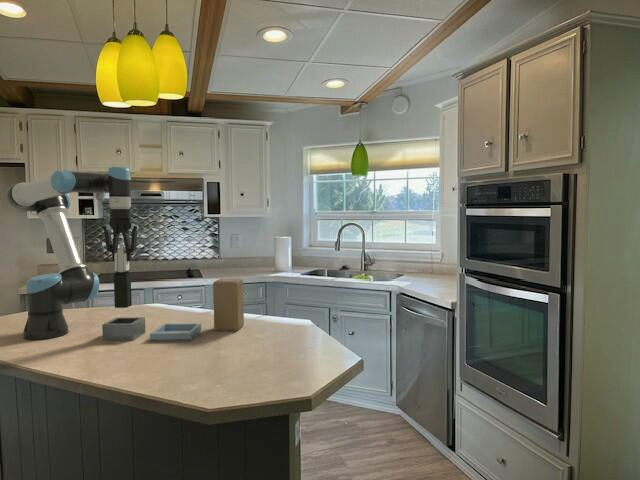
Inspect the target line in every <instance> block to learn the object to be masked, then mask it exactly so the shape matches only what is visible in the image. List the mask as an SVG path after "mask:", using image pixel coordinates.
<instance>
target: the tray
mask: <svg viewBox="0 0 640 480" xmlns="http://www.w3.org/2000/svg"><path fill="white" fill-rule="evenodd" d="M201 332H202V323H201V322H199V323H197V322H196V323H192V322H191V323H190V322H189V323H187V322H186V323H184V322H183V323H163V324H161V325H159V326H158V327H157V328H156V329H154V330H153V331H151V332H150V333H149V342H151V343H153V342H156V343H157V342H192V340H194V339H195V338H196V337H197V336H198V335H199V334H200V333H201Z"/></svg>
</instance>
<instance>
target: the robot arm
mask: <svg viewBox="0 0 640 480" xmlns="http://www.w3.org/2000/svg"><path fill="white" fill-rule="evenodd" d="M131 179H132V178H131V172H130V169H129V168H128V167H125V166H110V167H108V169H107V173H98V172H87V171H85V172H84V171H71V170H56V171H54V172H53V173H52V175H51V176H48V177H45V178H42V179H38V180H35V181H32V182H24V181H23V182H19V183H15V184H12V185H11V186H10V187H9V188H8V189H7V191H6V201H7V202H8V204H9V205H10V206H11V207H12V208H14V209H15V210H19V211H22V212H34V213H36V216H37V218H38V219H39V220H41V221H43V223H44V226H45V229H46V232H47V236H48V239H49V241H50V242H49V243H50V245H51V247H52V251H53V254H54V258H55V260H56V262H57V266H58V269H59V271H58V272H51V273H45V274H44V273H43V274H41V275H40V274H39V275H36V276H33V277H31V278H29V279H28V280H27V282H26V290H25V292H26V301H27V307H26V308H27V318H26V319H27V320H26V323H25V326H24V328H23V331H22V332H23V339H24V340H25V339H26V340H34V341H35V340H36V341H37V340H47V339H53V338H57V337H61V336H65V335H67V334H68V333H69V324H68V323H67V321H66V320H67V319H66V318H65V316H64V312H63V306H65V305H70V304H76V303H84V302H87V301H91V300H93V299H95V297H97V295H98V293H99V290H100V279H99V275H97V274H96V273H95V272H93V271H90V269H89V266H88V265H86V264H84V263H83V262H82V259H81V255H80V253H79V250H78V247H77V244H76V241H75V239H74V236H73V233H72V229H71V227H70V224H69V222H68V218H67V216H66V215H67V214H68V211H69V209H70V206H71V197H70V194H71V193H87V194H88V193H89V194H91V193H92V194H97V195H98V194H100V195H101V194H109V195H108V196H109V197H108V199H109V200H108V201H109V204H108V206H109V219H110V220H109V221H108V223H107V224H105V225H102V227H101V228H102V230H103V233H104V239H105V246H106V247H105V248H106V252H109V253H111V256H112V257H111V258H112V260H111V261H112V262H114V271H115V272H117V271H118V253H117V251H118V249H119V243H120V235H122V238H123V242H124V244H123V245H124V249H125V250H126V252H125V253H124V271H129V270H130V262H131V261H132V253H134V252H136V251H137V245H138V233H139V229H140V226H139V225H136V224H134V223H133V221H132V209H131V208H132V198H131V197H132V196H131V195H132V194H131V193H132V191H131V190H132V189H131ZM130 229H131V237H130ZM111 230H112V231H113V232H111Z"/></svg>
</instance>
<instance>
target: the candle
mask: <svg viewBox="0 0 640 480" xmlns="http://www.w3.org/2000/svg"><path fill="white" fill-rule="evenodd" d="M123 242H124V241H119V243H120V244H119V246H118V251H117V253H118V270H117V271H115V273H114V274H113V292H114V297H113V298H114V308H115V309H125V308H127V309H128V308H129V307H131V306H132V305H133V304H132V299H133V298H132V272H129V270H127V271H124V253H125V252H126V250H125V246H124V244H123Z"/></svg>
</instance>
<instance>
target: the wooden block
mask: <svg viewBox="0 0 640 480" xmlns="http://www.w3.org/2000/svg"><path fill="white" fill-rule="evenodd" d="M212 288H213V329H214V331H216V332H218V331H219V332H237V331H239V330H240V329H241V328H242V327H243V326H244V324H245V314H244V313H245V311H244V309H245V308H244V307H245V306H244V280H243V278H240V277H239V278H238V277H237V278H234V277H233V278H228V277H226V278H225V277H223V278H219V279H218V280H215V281H214V282H213V283H212Z"/></svg>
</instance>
